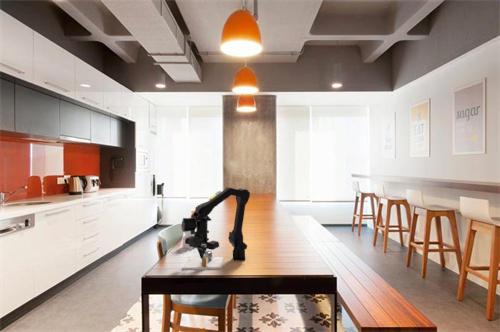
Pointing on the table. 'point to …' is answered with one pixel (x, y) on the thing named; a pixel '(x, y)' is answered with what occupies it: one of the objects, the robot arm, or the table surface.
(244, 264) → the table surface
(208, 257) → the lock lever
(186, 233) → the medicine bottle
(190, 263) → the base
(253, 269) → the table surface
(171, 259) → the table surface
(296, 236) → the table surface
